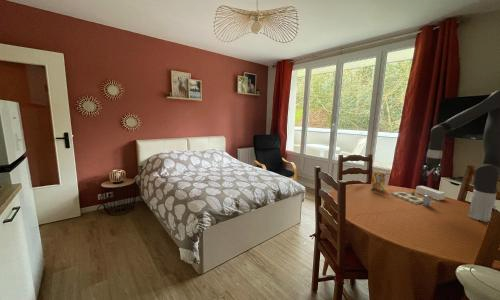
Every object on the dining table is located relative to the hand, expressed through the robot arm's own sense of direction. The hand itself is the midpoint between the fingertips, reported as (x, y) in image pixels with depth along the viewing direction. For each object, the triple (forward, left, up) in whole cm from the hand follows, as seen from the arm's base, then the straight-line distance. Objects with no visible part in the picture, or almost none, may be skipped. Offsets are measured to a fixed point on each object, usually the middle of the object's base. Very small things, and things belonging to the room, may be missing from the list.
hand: (430, 180), depth 142 cm
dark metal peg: (-1, +1, -18) cm, 18 cm away
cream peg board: (+12, +1, -18) cm, 22 cm away
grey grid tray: (+12, -9, -18) cm, 24 cm away
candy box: (+34, +6, -18) cm, 39 cm away
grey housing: (+12, -20, -18) cm, 30 cm away
